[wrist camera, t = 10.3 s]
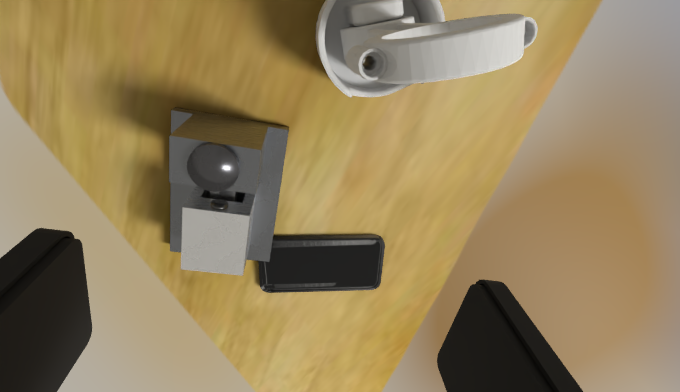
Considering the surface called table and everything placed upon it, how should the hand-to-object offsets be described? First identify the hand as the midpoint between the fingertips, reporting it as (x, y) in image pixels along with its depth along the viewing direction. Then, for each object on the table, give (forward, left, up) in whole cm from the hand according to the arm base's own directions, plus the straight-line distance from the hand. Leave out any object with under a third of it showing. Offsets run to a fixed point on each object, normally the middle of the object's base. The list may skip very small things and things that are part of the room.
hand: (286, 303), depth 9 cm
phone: (+20, +6, -30) cm, 37 cm away
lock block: (+15, -6, -28) cm, 32 cm away
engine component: (-6, +6, -30) cm, 31 cm away
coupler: (+12, -6, -30) cm, 32 cm away
